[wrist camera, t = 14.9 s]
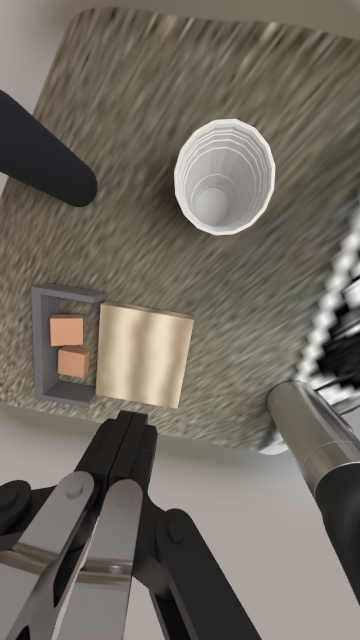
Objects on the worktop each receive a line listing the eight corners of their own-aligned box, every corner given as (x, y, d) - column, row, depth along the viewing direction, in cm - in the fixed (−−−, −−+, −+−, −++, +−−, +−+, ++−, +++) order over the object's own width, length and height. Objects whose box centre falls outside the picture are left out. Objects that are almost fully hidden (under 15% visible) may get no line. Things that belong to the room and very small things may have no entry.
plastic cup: (240, 247, 35) (264, 241, 23) (175, 238, 35) (167, 227, 24) (255, 173, 32) (291, 123, 20) (185, 163, 32) (181, 108, 21)
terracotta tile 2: (58, 349, 39) (66, 344, 42) (57, 373, 41) (65, 366, 43) (84, 354, 39) (90, 349, 42) (83, 378, 41) (89, 371, 43)
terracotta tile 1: (49, 318, 35) (51, 314, 37) (51, 346, 37) (52, 340, 39) (82, 318, 38) (82, 314, 40) (82, 344, 39) (82, 339, 41)
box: (106, 292, 38) (94, 297, 33) (100, 391, 44) (88, 407, 39) (51, 283, 38) (31, 286, 34) (52, 383, 44) (35, 398, 39)
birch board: (193, 315, 38) (193, 319, 36) (178, 398, 43) (177, 408, 41) (107, 300, 39) (100, 304, 36) (101, 385, 44) (95, 394, 41)
